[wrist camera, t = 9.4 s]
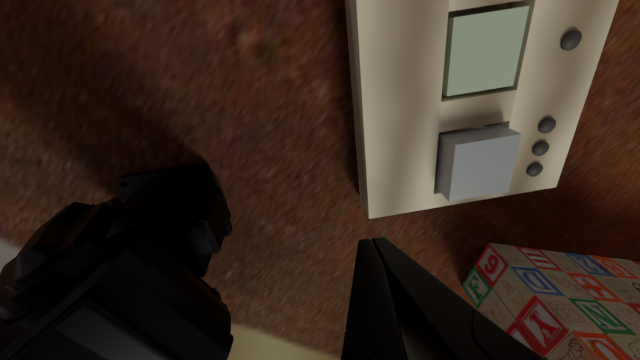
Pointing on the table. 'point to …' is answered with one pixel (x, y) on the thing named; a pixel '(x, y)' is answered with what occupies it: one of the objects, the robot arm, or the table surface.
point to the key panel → (463, 109)
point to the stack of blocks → (560, 301)
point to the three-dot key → (476, 162)
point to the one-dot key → (483, 50)
